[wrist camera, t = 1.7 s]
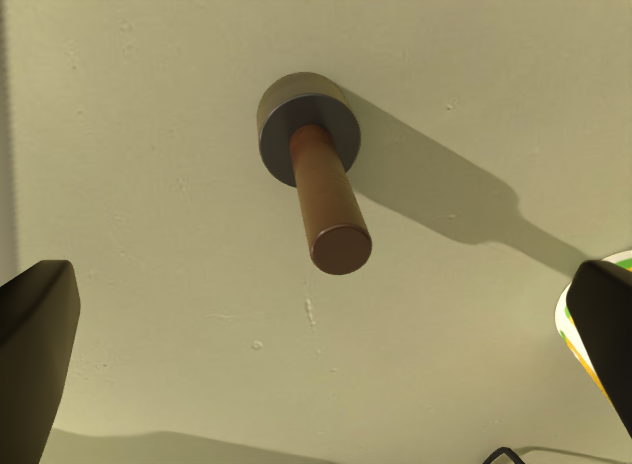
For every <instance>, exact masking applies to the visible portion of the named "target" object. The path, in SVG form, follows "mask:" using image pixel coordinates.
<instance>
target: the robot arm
mask: <svg viewBox="0 0 632 464" xmlns="http://www.w3.org/2000/svg"><path fill="white" fill-rule="evenodd" d="M566 306H567V309H568V311H569V313H570V316H571V318H572V320H573V322H574V325H575V327H576V329H577V332H578V334H579V336H580V338H581V341H582V343H583V345H584V348H585V350H586V352H587V355H588V357H589V359H590V361H591V364H592V366H593V368H594V370H595V372H596V375H597V377H598V379H599V381H600V382H601V384H602V386H603V388H604V390H605V392H606V394H607V395H608V397H609V399H610V401H611V403H612V404H613V406H614V408H615V410H616V412H617V413H618V415H619V417H620V419H621V420H622V422H623V424H624V426H625V428H626V429H627V431H628V433H629V435H630V437H631V438H632V272H631V271H629V270H627V269H625V268H623V267H621V266H618V265H616V264H614V263H612V262H610V261H606V260H587V261H584V262H583V263H582V264H581V265H580V266H579V268H578V270H577V272H576V274H575V276H574V279H573V281H572V283H571V285H570V287H569V289H568V291H567V294H566ZM79 316H80V297H79V292H78V287H77V282H76V277H75V273H74V268H73V266H72V264H71V262H69V261H68V260H42V261H40V262H38V263H36V264H35V265H33V266H32V267H30V268H29V269H27V270H26V271H24V272H23V273H21V274H19V275H18V276H16V277H15V278H13V279H12V280H10V281H9V282H7V283H6V284H4V285H3V286H1V287H0V464H39V462H40V459H41V456H42V453H43V451H44V448H45V445H46V442H47V439H48V436H49V433H50V431H51V428H52V425H53V422H54V419H55V416H56V413H57V410H58V407H59V404H60V401H61V397H62V393H63V389H64V385H65V380H66V376H67V371H68V367H69V362H70V357H71V353H72V348H73V343H74V339H75V334H76V329H77V325H78V320H79Z"/></svg>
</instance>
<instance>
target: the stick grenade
mask: <svg viewBox="0 0 632 464" xmlns="http://www.w3.org/2000/svg"><path fill="white" fill-rule="evenodd" d="M257 129H258V142H259V151H260V155H261V158H262V161H263V163H264V165H265V166H266V168H267V169H268V171H269V172H270V173H271V174H272V175H273V176H274V177H275V178H276V179H278V180H279V181H281V182H282V183H285V184H287V185H289V186H292V187H295V188H297V191H298V196H299V201H300V206H301V211H302V216H303V221H304V226H305V231H306V236H307V241H308V246H309V251H310V256H311V259H312V261H313V263H314V264H315V265H316V266H317V267H318V268H319V269H320V270H322V271H323V272H325V273H328V274H332V275H344V274H348V273H351V272H354V271H356V270H358V269H359V268H361V267H362V266H363V265H364V264H365V263H366V262H367V260H368V259H369V257H370V254H371V251H372V239H371V237H370V234H369V232H368V229H367V226H366V224H365V221H364V219H363V216H362V214H361V211H360V208H359V206H358V203H357V201H356V198H355V196H354V193H353V190H352V188H351V185H350V183H349V180H348V178H347V175H346V173H347V172H348V170H349V169H350V168H351V167H352V165H353V164H354V162H355V160H356V158H357V156H358V153H359V150H360V145H361V132H360V127H359V124H358V121H357V119H356V117H355V115H354V113H353V111H352V110H351V108H350V106H349V104H348V102H347V100H346V98H345V97H344V95H343V93H342V91H341V90H340V89H339V88H338V86H337V85H336V84H335V83H333V82H332V81H331V80H329V79H328V78H326V77H324V76H321V75H319V74H315V73H309V72H300V73H293V74H290V75H287V76H285V77H282V78H281V79H279V80H277V81H276V82H275V83H273V84H272V85H271V86H270V87H269V88H268V89H267V91H266V92H265V93H264V95H263V97H262V99H261V101H260V103H259V106H258V110H257Z"/></svg>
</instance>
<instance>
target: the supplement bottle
mask: <svg viewBox="0 0 632 464" xmlns="http://www.w3.org/2000/svg"><path fill="white" fill-rule="evenodd" d="M602 260H606V261H610V262H612V263H614V264H616V265H618V266H621V267H623V268H625V269H627V270H629V271H631V272H632V250H629V251H624V252H620V253H617V254H614V255H611V256H609V257H606V258H604V259H602ZM571 283H572V282H571ZM571 283H570V284H569V285H568V287H567V288H566V289H565V291H564V292H563V293H562V295H561V297H560V299H559V301H558V304H557V308H556V313H555V321H556V326H557V329H558V331H559V333H560V335H561V337H562V338H563V339H564V341H565V342H566V344H567V345H568V347H569V348H570V349H571V351H572V352H573V353H574V355H575V356H576V357H577V359H578V360H579V361H580V362H581V364H582V365H583V366H584V368H585V369H586V370H587V372H588V373H589V375H590V376H591V377H592V378H593V380H594V381H595V383H596V384H597V385H598V386H599V388H600V389H601V391H602V392H603V393H604V395H605V396H606V397H607V399H608V400H609V401H610V399H609V397H608V395H607V394H606V392H605V390H604V388H603V386H602V384H601V382H600V381H599V379H598V377H597V375H596V372H595V370H594V368H593V366H592V364H591V361H590V359H589V357H588V355H587V352H586V350H585V348H584V345H583V343H582V341H581V338H580V336H579V334H578V332H577V329H576V327H575V325H574V322H573V320H572V318H571V316H570V313H569V311H568V309H567V306H566V294H567V291H568V289H569V287H570V285H571ZM610 403H611V401H610ZM611 404H612V403H611ZM612 406H613V404H612ZM613 407H614V406H613Z"/></svg>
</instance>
